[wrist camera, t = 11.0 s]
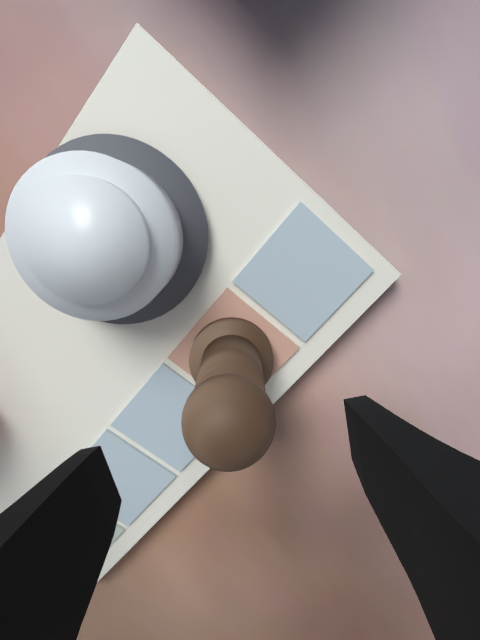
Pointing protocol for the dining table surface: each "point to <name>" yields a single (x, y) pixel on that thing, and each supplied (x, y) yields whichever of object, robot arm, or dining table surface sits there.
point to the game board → (173, 293)
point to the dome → (92, 235)
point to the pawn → (229, 395)
